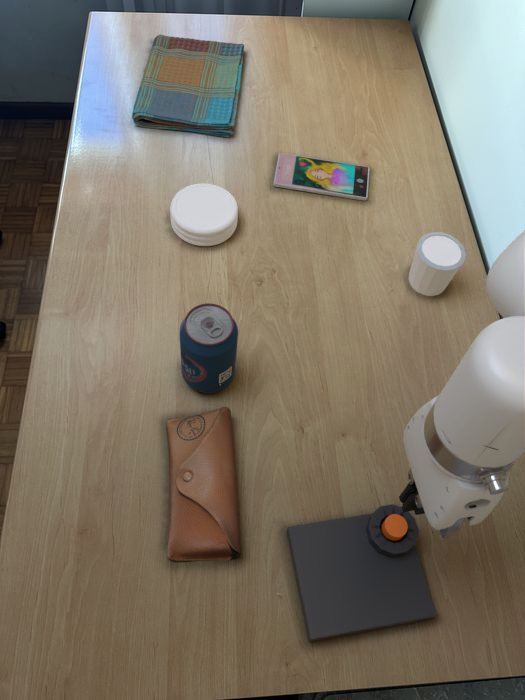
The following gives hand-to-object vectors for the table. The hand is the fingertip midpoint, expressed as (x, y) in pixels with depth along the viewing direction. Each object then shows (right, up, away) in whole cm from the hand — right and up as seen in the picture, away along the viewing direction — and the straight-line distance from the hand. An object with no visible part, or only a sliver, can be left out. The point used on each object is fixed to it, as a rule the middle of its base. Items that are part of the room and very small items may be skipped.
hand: (415, 502), depth 69 cm
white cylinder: (+8, +26, +29) cm, 40 cm away
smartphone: (-6, +43, +38) cm, 58 cm away
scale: (-5, -10, +6) cm, 12 cm away
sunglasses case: (-23, 0, +10) cm, 25 cm away
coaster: (-25, +35, +32) cm, 53 cm away
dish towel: (-28, +62, +48) cm, 83 cm away
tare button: (-1, -4, +6) cm, 8 cm away
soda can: (-23, +13, +18) cm, 32 cm away
